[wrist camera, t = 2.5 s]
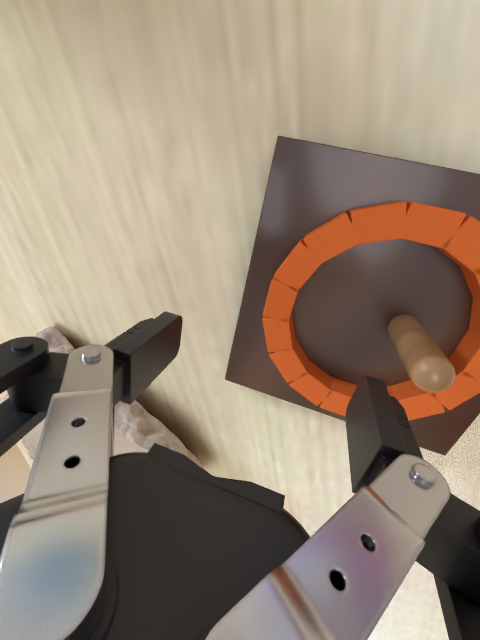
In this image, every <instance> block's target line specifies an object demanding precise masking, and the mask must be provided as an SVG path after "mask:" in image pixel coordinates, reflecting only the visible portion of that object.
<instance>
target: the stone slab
mask: <svg viewBox="0 0 480 640" xmlns="http://www.w3.org/2000/svg"><path fill="white" fill-rule="evenodd" d="M37 337H39V338H42V339H44V340H46V341H47V342H48V346H49V352H56V353H65V354H70V353H71V352H72V351H74V350H75V348H74V347H73V346H72V345H71V344H70V343H69V341H68V340H67V339H66V338H65V337H64V336H63V334H62V333H61V332H60V331H58V330H57V329H56V328H55V327H47V328H46V329H44V330H43V331H41V332H40V333H37ZM8 398H9V396H8V394H7V395H6V396H5V397H4V398H2V399H1V400H0V404H1V403H2V402H3V401H5V400H6V399H8ZM45 419H46V418H45ZM45 419H44V420H43V421H42V422H40V423H39V424H38V425H37V426H36V427H35V428H33V429H32V430H31V431H30V432H29V433H28V434H26V435H25V436H24V437H23V438H22V442H23V444H24V446H25V448H27V449H28V451H29V453H28V454H29V456H30V458H31V459H33V460H34V458H35V454H36V451H37V447H38V444H39V440H40V436H41V433H42V429H43V426H44V422H45ZM154 443H156V444H159V445H161V446H164V447H166V448H169V449H171V450H174V451H176V452H179V453H181V454H183V455H185V456H187V457H188V458H189V459H191V460H192V461H193V462H195V463H196V464H197V465H199V466H200V467H201V468H203V466H202V465H201V463H200V462H199V461H198V459H197V458H196V457H195V455H194V454H192V453H191V452H190V451H189V450H188V449H186V447H185V446H184V445H183V443H182V442H181V441H180V440H179V439H178V438H177V437H176V436H175V435H174V434H173V433H172V432H171V431H169V430H168V429H167V428H166V427H165V426H164V424H163V423H162V422H160V421H159V420H158V419H157V418H155V417H154V416H152V415H150V414H149V413H148V412H147V411H146V410H145V409H144V408H143V407H142V406H141V404H140V403H138V402H137V401H134V402H133V403H132V404H131V405H129V404H126V403H123V402H121V401H119V402H118V403H117V404H116V405H115V426H114V456H115V455H118V454H123V453H130V452H147V453H148V451H149V450H150V448H151V447H152V446H153V444H154ZM203 469H204V468H203Z"/></svg>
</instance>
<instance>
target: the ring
mask: <svg viewBox="0 0 480 640" xmlns="http://www.w3.org/2000/svg"><path fill="white" fill-rule="evenodd" d="M395 239H404V240H408V241H412V242H416V243H421V244H425V245H429V246H433V247H436V248H437V249H439V250H440V251H441V252H442V253H444V254H445V255H446V256H447V257H449V258H450V259H451V260H453V261H454V262H455V263H456V264H458V265H459V266H460V268H461V270H462V273H463V275H464V277H465V280H466V282H467V284H468V287H469V289H470V292H471V294H472V296H473V302H472V309H471V317H470V325H469V329H468V331H467V332H466V334H465V335H464V337H463V338H462V340H461V341H460V343H459V344H458V346H457V347H456V349H455V350H454V352H453V353H452V355H451V356H450V357H449V358H448V359H449V361H450V362H451V363H452V365H453V367H454V369H455V380H454V382H453V384H452V385H451V386H450V387H449V388H448V389H446V390H444V391H440V392H428V391H424V390H422V389H420V388H418V387H417V386H416V385H415V384H414V383H413V382H412V381H411V380H408V381H405V382H402V383H398V384H395V385H392V386H387V389H388V392H389V395H390V396H393V397H395V398H396V399H397V400H398V401H399V402H400V404H401V405H402V406H403V407H404V409H405V412H406V414H407V417H408V421H410V420H414V419H418V418H423V417H427V416H431V415H435V414H440V413H444V412H445V409H444V407H446V408H447V409H448V410H451V409H453V408H455V407H456V406H458V405H460V404H462V403H463V402H465V401H467V400H468V399H470V398H472V397H473V396H475V395H477V394H478V393H480V222H479V221H478V220H477V219H476V218H474V217H473V216H468V215H466V213H463V212H459V211H454V210H449V209H445V208H440V207H435V206H431V205H426V204H421V203H416V202H407V201H395V202H390V203H384V204H379V205H373V206H368V207H362V208H357V209H351V210H349V216H348V214H347V213H345V212H343V213H341V214H340V215H338V216H336V217H335V218H333V219H331V220H330V221H328V222H326V223H325V224H323V225H321V226H320V227H318V228H316V229H315V230H313V231H311V232H310V233H308V234H306V235H305V237H304V239H301V240H300V241H299V242H298V244H297V245H296V246H295V247H294V249H293V250H292V251H291V253H290V254H289V255H288V257H287V258H286V259H285V260H284V262H283V263H282V264H281V266H280V267H279V268H278V270H277V271H276V273H275V274H274V277H273V279H272V280H271V284H270V288H269V292H268V295H267V299H266V303H265V307H264V311H263V316H264V317H263V319H262V320H263V326H264V332H265V338H266V344H267V350H268V352H270V354H269V356H270V358H271V359H272V361H273V362H274V364H275V365H276V367H277V368H278V370H279V372H280V373H281V375H282V376H283V378H284V379H285V381H286V382H287V383H288V382H290V384H289V386H291V387H292V388H293V389H295V390H296V391H297V392H299V393H300V394H301V395H303V396H304V397H305V398H307V399H308V400H309V401H311V402H312V403H313V404H315V405H316V406H318V405H319V404H320V408H322V409H325V410H328V411H331V412H334V413H337V414H340V415H343V416H346V409H347V406H348V403H349V401H350V399H351V397H352V395H353V393H354V391H355V389H356V387H357V385H356V384H352V383H349V382H346V381H343V380H340V379H337V378H334V377H331V376H329V375H328V374H327V373H326V372H324V371H323V370H322V369H320V368H319V367H318V366H316V365H315V364H314V363H312V362H311V361H310V360H309V359H308V358H307V356H306V355H305V353H304V351H303V350H302V348H301V346H300V345H299V343H298V341H297V340H296V338H295V333H294V325H293V317H292V310H293V307H294V303H295V300H296V297H297V294H298V291H299V289H300V288H301V287H302V286H303V285H304V284H305V283H306V281H307V280H308V279H309V278H310V277H311V276H312V274H313V273H314V272H315V271H316V270H317V269H318V267H319V266H320V265H321V264H322V263H324V262H326V261H328V260H330V259H332V258H333V257H335V256H337V255H339V254H341V253H343V252H345V251H346V250H348V249H350V248H352V247H354V246H356V245H360V244H367V243H374V242H381V241H388V240H395ZM443 406H444V407H443Z"/></svg>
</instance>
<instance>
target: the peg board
mask: <svg viewBox="0 0 480 640" xmlns="http://www.w3.org/2000/svg"><path fill="white" fill-rule="evenodd" d="M395 201H407V202H416V203H421V204H426V205H431V206H435V207H440V208H445V209H449V210H454V211H459V212H463V213H466V215H468V216H473V217H474V218H476V219H477V220H478V221H479V222H480V174H476V173H471V172H466V171H460V170H455V169H450V168H445V167H439V166H434V165H429V164H424V163H418V162H413V161H408V160H403V159H398V158H392V157H387V156H382V155H377V154H371V153H366V152H361V151H356V150H351V149H345V148H340V147H335V146H330V145H324V144H319V143H314V142H309V141H303V140H298V139H293V138H288V137H283V136H278V138H277V143H276V147H275V152H274V156H273V161H272V166H271V170H270V175H269V179H268V184H267V188H266V193H265V198H264V202H263V207H262V211H261V216H260V221H259V225H258V230H257V234H256V239H255V244H254V248H253V253H252V257H251V262H250V267H249V271H248V276H247V280H246V285H245V290H244V294H243V299H242V303H241V308H240V313H239V317H238V322H237V326H236V331H235V336H234V340H233V345H232V349H231V354H230V359H229V363H228V368H227V372H226V377H225V380H228V381H231V382H234V383H237V384H240V385H242V386H245V387H248V388H251V389H254V390H257V391H260V392H263V393H266V394H268V395H271V396H274V397H277V398H280V399H283V400H286V401H289V402H292V403H294V404H297V405H300V406H303V407H306V408H309V409H312V410H315V411H318V412H321V413H323V414H326V415H329V416H332V417H335V418H338V419H341V420H344V421H346V416H343V415H340V414H337V413H334V412H331V411H328V410H325V409H322V408H320V404H319V405H318V406H316V405H315V404H313V403H312V402H311V401H309V400H308V399H307V398H305V397H304V396H303V395H301V394H300V393H299V392H297V391H296V390H295V389H293V388H292V387H291V386H289V384H290V382H288V383H287V382H286V381H285V379H284V378H283V376H282V375H281V373H280V372H279V370H278V368H277V367H276V365H275V364H274V362H273V361H272V359H271V358H270V356H269V354H270V352H268V350H267V344H266V338H265V332H264V326H263V320H262V319H263V317H264V316H263V311H264V307H265V303H266V299H267V295H268V292H269V288H270V284H271V280H272V279H273V277H274V274H275V273H276V271H277V270H278V268H279V267H280V266H281V264H282V263H283V262H284V260H285V259H286V258H287V257H288V255H289V254H290V253H291V251H292V250H293V249H294V247H295V246H296V245H297V244H298V242H299V241H300V240H301V239H304V237H305V235H306V234H308V233H310V232H311V231H313V230H315V229H316V228H318V227H320V226H321V225H323V224H325V223H326V222H328V221H330V220H331V219H333V218H335V217H336V216H338V215H340V214H341V213H343V212H345V213H347V214H348V216H349V210H351V209H357V208H362V207H368V206H373V205H379V204H384V203H390V202H395ZM472 302H473V296H472V294H471V292H470V289H469V287H468V284H467V282H466V280H465V277H464V275H463V273H462V270H461V268H460V266H459V265H458V264H456V263H455V262H454V261H453V260H451V259H450V258H449V257H447V256H446V255H445V254H444V253H442V252H441V251H440V250H439V249H437V248H436V247H433V246H429V245H425V244H421V243H416V242H412V241H408V240H404V239H395V240H388V241H381V242H374V243H367V244H360V245H356V246H354V247H352V248H350V249H348V250H346V251H345V252H343V253H341V254H339V255H337V256H335V257H333V258H332V259H330V260H328V261H326V262H324V263H322V264H321V265H320V266H319V267H318V269H317V270H316V271H315V272H314V273H313V274H312V276H311V277H310V278H309V279H308V280H307V281H306V283H305V284H304V285H303V286H302V287H301V288H300V289H299V291H298V294H297V297H296V300H295V303H294V307H293V310H292V317H293V325H294V333H295V338H296V340H297V341H298V343H299V345H300V346H301V348H302V350H303V351H304V353H305V355H306V356H307V358H308V359H309V360H310V361H311V362H312V363H314V364H315V365H316V366H318V367H319V368H320V369H322V370H323V371H324V372H326V373H327V374H328V375H329V376H331V377H334V378H337V379H340V380H343V381H346V382H349V383H352V384H356V385H358V383H359V381H360V379H361V377H362V376H363V375H368V376H371V377H374V378H377V379H380V380H383V381H385V383H386V386H392V385H395V384H398V383H402V382H405V381H408V380H411V381H412V382H413V383H414V384H415V385H416V386H417V387H418V388H420V389H422V390H424V391H428V392H440V391H444V390H446V389H448V388H449V387H450V386H451V385H452V384H453V382H454V380H455V369H454V367H453V365H452V363H451V362H450V361H449V359H448V358H449V357H450V356H451V355H452V353H453V352H454V350H455V349H456V347H457V346H458V344H459V343H460V341H461V340H462V338H463V337H464V335H465V334H466V332H467V331H468V329H469V325H470V317H471V309H472ZM443 407H444V406H443ZM444 409H445V412H444V413H440V414H435V415H431V416H427V417H423V418H418V419H414V420H410V421H409V422H410V425H411V427H412V428H411V430H413V433H414V435H415V438H416V441H417V443H418V446H419V447H422V448H425V449H427V450H430V451H433V452H436V453H439V454H442V455H446V454H447V453H448V451H449V450H450V449H451V448H452V446H453V445H454V444H455V443H456V442H457V440H458V439H459V438H460V437H461V435H462V434H463V433H464V432H465V431H466V429H467V428H468V427H469V426H470V424H471V423H472V422H473V421H474V420H475V418H476V417H477V416H478V415H479V414H480V393H478V394H477V395H475V396H473V397H472V398H470V399H468V400H467V401H465V402H463V403H462V404H460V405H458V406H456V407H455V408H453V409H451V410H448V409H447V408H446V407H444Z"/></svg>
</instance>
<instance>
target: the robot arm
mask: <svg viewBox="0 0 480 640" xmlns="http://www.w3.org/2000/svg"><path fill="white" fill-rule="evenodd" d="M181 330H182V317H181V316H179V315H175V314H172V313H169V312H163V313H162V314H161V315H159V316H158V317H156V318H155V319H153V318H150V319H147V320H144V321H140V322H139V323H137V324H136V325H134V326H133V328H130V329H128V330H127V331H126V332H124V333H122V334H121V335H119V336H118V337H116V338H115V339H113V340H112V341H110V342H109V343H107V344H106V345H104V346H102V345H87V346H83V347H80V348H77V349H75V350H74V351H72V352H71V353H70V354H65V353H56V352H49V346H48V342H47V341H46V340H44V339H42V338H39V337H20V338H16V339H12V340H9V341H7V342H5V343H3V344H1V345H0V394H1V393H2V392H4V391H5V390H7V392H8V396H9V398H8V399H6V400H5V401H3V402H2V403H1V404H0V456H2V455H3V454H4V453H5V452H6V451H8V450H9V449H10V448H11V447H12V446H13V445H15V444H16V443H17V442H18V441H19V440H21V439H22V438H23V437H24V436H25V435H26V434H28V433H29V432H30V431H31V430H32V429H33V428H35V427H36V426H37V425H38V424H39V423H40V422H42V421H43V420H44V419H45V418H46V419H45V422H44V426H43V429H42V433H41V436H40V440H39V444H38V447H37V451H36V454H35V458H34V461H33V465H32V469H31V472H30V476H29V480H28V483H27V487H26V490H25V493H24V494H22V495H19V496H17V497H15V498H12V499H10V500H8V501H5V502H3V503H0V640H367V639H368V638H369V636H370V634H371V633H372V631H373V629H374V628H375V626H376V624H377V623H378V621H379V619H380V618H381V616H382V615H383V613H384V611H385V610H386V608H387V606H388V605H389V603H390V601H391V600H392V598H393V596H394V595H395V593H396V592H397V590H398V588H399V587H400V585H401V583H402V582H403V580H404V578H405V577H406V575H407V573H408V572H409V570H410V569H411V567H412V565H413V564H414V562H415V561H417V562H418V563H419V564H421V565H422V566H423V567H425V568H426V569H427V570H429V571H430V572H431V573H433V574H434V578H435V582H436V587H437V591H438V595H439V599H440V603H441V607H442V612H443V616H444V620H445V624H446V628H447V632H448V637H449V640H480V511H479V510H477V509H475V508H474V507H472V506H470V505H469V504H467V503H466V502H464V501H462V500H461V499H459V498H457V497H456V496H454V495H453V494H451V493H450V488H449V485H448V483H447V481H446V480H445V478H444V477H443V476H442V475H441V473H440V472H439V471H438V470H437V469H436V468H435V467H433V466H432V465H431V464H430V463H428V462H427V461H425V460H424V459H423V457H422V454H421V451H420V449H419V446H418V443H417V441H416V438H415V435H414V433H413V430H411V428H412V427H411V425H410V422H409V421H408V417H407V414H406V412H405V409H404V407H403V406H402V405H401V404H400V402H399V401H398V400H397V399H396V398H395V397H393V396H390V395H389V392H388V389H387V386H386V383H385V381H383V380H380V379H377V378H374V377H371V376H368V375H363V376H362V377H361V379H360V381H359V383H358V385H357V387H356V389H355V391H354V393H353V395H352V397H351V399H350V401H349V403H348V406H347V409H346V429H347V439H348V450H349V461H350V472H351V482H352V492H353V493H356V494H355V495H354V496H353V497H352V498H351V499H350V500H348V501H347V502H346V503H345V504H344V505H343V506H342V507H341V508H340V509H339V510H338V511H337V512H336V513H335V514H334V515H333V516H332V517H331V518H330V519H329V520H328V521H327V522H326V523H325V524H324V525H323V526H322V527H321V528H320V529H318V530H317V531H316V532H315V533H314V534H313V535H312V536H311V537H310V536H309V534H308V533H307V532H306V530H305V529H304V528H303V527H302V525H301V524H300V523H299V522H298V521H297V520H296V519H295V518H294V517H293V516H292V515H291V514H290V513H289V512H287V511H286V510H285V509H283V505H284V498H285V496H284V495H282V494H279V493H277V492H274V491H272V490H270V489H267V488H265V487H262V486H260V485H257V484H255V483H252V482H248V481H241V480H234V479H227V478H220V477H215V476H212V475H211V474H209V473H208V472H207V471H205V470H204V469H203V468H201V467H200V466H199V465H197V464H196V463H195V462H193V461H192V460H191V459H189V458H188V457H187V456H185V455H183V454H181V453H179V452H176V451H174V450H171V449H169V448H166V447H164V446H161V445H159V444H156V443H154V444H153V446H152V447H151V448H150V450H149V451H148V453H147V452H130V453H123V454H118V455H115V456H114V426H115V405H116V404H117V403H118V402H119V401H121V402H123V403H126V404H129V405H131V404H132V403H133V402H134V401H135V400H136V399H137V397H138V396H139V395H140V394H141V393H142V392H143V391H144V390H145V389H146V388H147V387H148V386H149V385H150V384H151V383H152V382H153V381H154V379H155V378H156V377H157V376H158V375H159V374H160V373H161V372H162V371H163V370H164V369H165V368H166V367H167V366H168V365H169V364H170V362H171V361H172V360H173V359H174V358H175V357H176V355H177V353H178V351H179V347H180V339H181Z"/></svg>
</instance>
